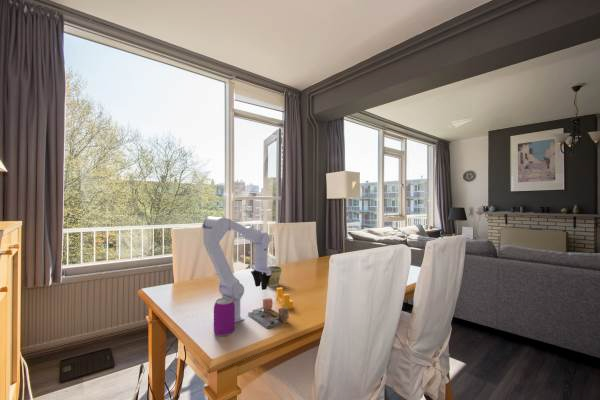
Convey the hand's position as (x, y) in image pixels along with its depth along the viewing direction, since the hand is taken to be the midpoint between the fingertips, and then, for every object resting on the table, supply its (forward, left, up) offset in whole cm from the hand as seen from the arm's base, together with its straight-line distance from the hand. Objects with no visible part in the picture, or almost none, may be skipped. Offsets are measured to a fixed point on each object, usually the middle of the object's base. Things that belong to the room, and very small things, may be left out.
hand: (261, 287), depth 133 cm
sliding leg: (-3, -6, -8) cm, 10 cm away
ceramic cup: (+24, +27, -10) cm, 38 cm away
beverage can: (-23, -13, -10) cm, 28 cm away
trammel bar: (-3, -12, -9) cm, 16 cm away
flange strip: (-5, -12, -9) cm, 16 cm away
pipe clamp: (+12, -2, -10) cm, 15 cm away
